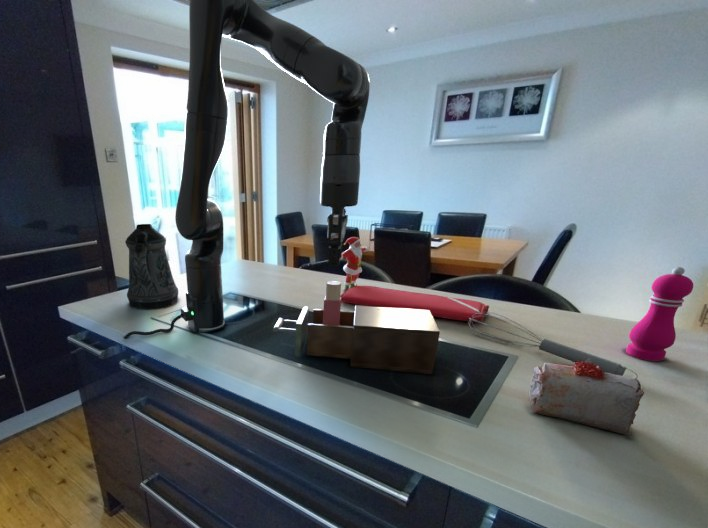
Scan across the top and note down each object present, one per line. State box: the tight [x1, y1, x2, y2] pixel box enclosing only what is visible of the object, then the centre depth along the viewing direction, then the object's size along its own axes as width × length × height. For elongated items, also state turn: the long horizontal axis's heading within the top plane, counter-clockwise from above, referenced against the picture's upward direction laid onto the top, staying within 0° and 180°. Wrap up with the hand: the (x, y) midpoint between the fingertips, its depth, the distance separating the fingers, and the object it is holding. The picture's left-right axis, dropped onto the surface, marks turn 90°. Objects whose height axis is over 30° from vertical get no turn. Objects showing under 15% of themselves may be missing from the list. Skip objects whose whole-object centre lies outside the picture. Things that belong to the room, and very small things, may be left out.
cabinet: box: [349, 305, 441, 375], centre depth 86 cm, size 17×14×10 cm
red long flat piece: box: [340, 285, 490, 323], centre depth 120 cm, size 16×41×4 cm, turn 54°
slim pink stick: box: [323, 280, 342, 326], centre depth 88 cm, size 4×3×15 cm
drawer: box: [272, 306, 355, 360], centre depth 90 cm, size 21×12×8 cm, turn 76°
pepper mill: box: [625, 266, 694, 362], centre depth 83 cm, size 7×7×20 cm
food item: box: [529, 359, 645, 436], centre depth 64 cm, size 14×8×10 cm, turn 57°
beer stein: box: [124, 223, 179, 310], centre depth 124 cm, size 16×19×25 cm
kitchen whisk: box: [467, 311, 638, 380], centre depth 88 cm, size 6×34×6 cm, turn 34°
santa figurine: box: [340, 236, 370, 292], centre depth 136 cm, size 25×6×19 cm, turn 140°
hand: (335, 262), depth 83 cm, fingers open, 8 cm apart
